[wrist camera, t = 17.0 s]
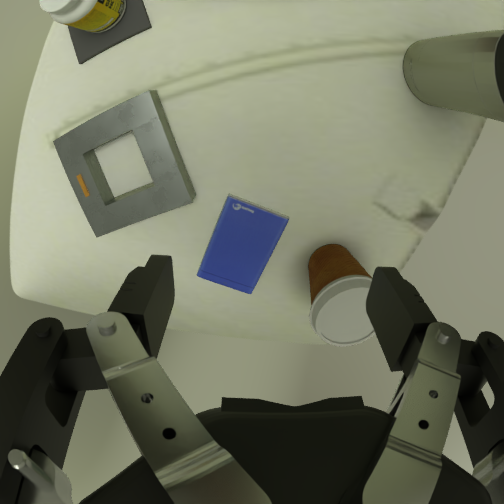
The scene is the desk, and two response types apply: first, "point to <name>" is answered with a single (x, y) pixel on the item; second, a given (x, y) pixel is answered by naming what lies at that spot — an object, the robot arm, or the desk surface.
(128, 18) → the pad
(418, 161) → the desk surface
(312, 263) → the disposable coffee cup
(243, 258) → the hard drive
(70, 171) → the block
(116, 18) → the pill bottle
